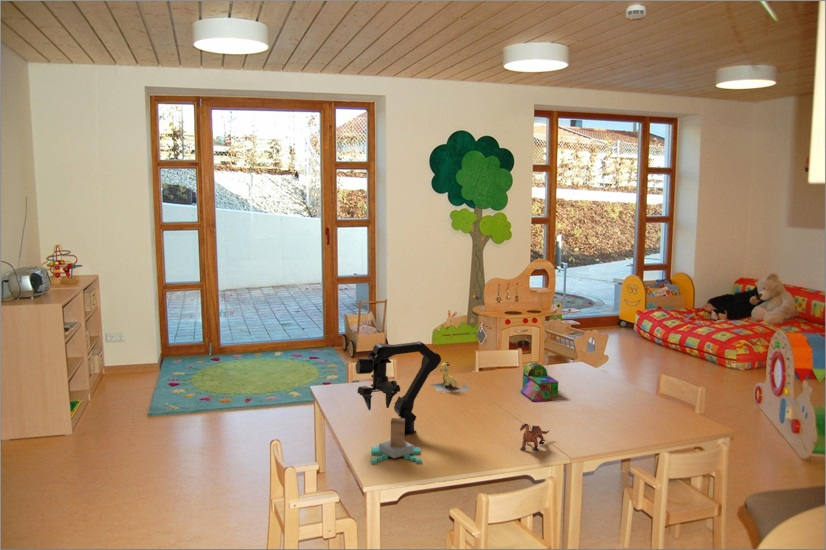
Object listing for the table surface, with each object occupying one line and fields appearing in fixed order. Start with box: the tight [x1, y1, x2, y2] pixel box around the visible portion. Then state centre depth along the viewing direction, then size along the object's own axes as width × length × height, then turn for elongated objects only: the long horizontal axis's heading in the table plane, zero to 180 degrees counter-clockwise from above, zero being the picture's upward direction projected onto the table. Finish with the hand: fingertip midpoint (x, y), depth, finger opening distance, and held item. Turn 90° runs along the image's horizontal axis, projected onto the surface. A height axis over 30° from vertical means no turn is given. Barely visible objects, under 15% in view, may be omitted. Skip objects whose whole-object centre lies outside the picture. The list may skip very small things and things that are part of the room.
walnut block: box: [390, 417, 406, 447], centre depth 269 cm, size 6×6×10 cm
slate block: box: [378, 439, 414, 459], centre depth 270 cm, size 10×10×3 cm
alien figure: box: [370, 444, 423, 465], centre depth 271 cm, size 20×2×20 cm
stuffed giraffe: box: [430, 360, 470, 394], centre depth 359 cm, size 16×18×16 cm
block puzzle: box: [519, 361, 559, 403], centre depth 352 cm, size 25×17×14 cm
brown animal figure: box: [519, 423, 550, 452], centre depth 277 cm, size 8×30×15 cm, turn 153°
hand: (378, 409), depth 286 cm, fingers open, 9 cm apart
